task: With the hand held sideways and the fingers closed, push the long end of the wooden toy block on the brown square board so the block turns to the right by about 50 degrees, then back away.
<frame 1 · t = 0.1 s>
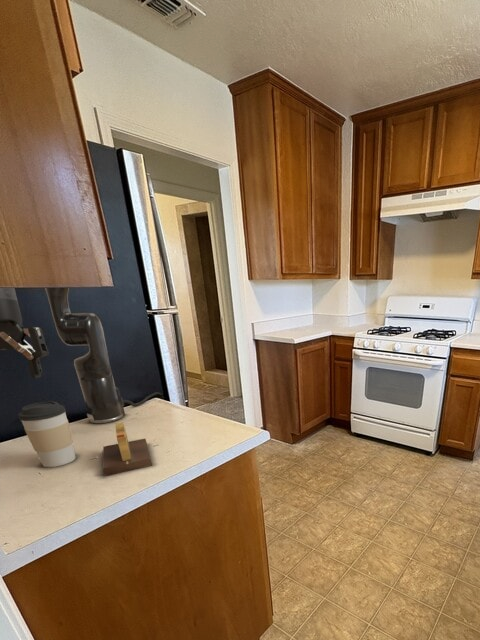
hand: (14, 378, 75), 22 cm above the counter, tool pointing down, fingers open, 8 cm apart
coffee cup: (59, 461, 89), on the counter
brown square board: (127, 459, 89), on the counter
wooden toy block: (123, 440, 87), point 5 cm above the counter, hinge at 0.0°
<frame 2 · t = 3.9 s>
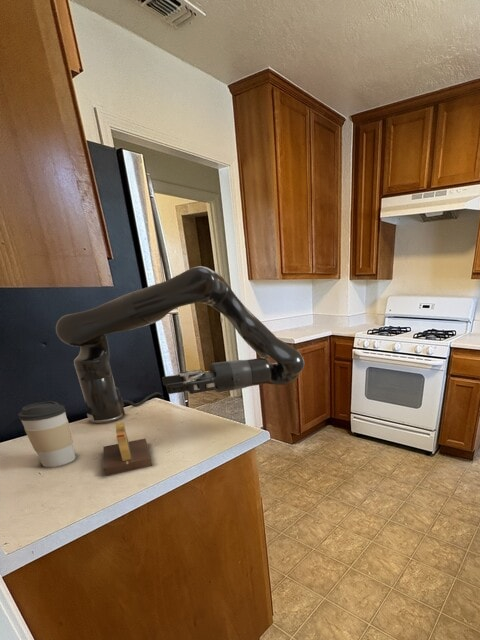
hand: (164, 385, 85), 18 cm above the counter, tool horizontal, fingers open, 8 cm apart
nothing on the counter moved.
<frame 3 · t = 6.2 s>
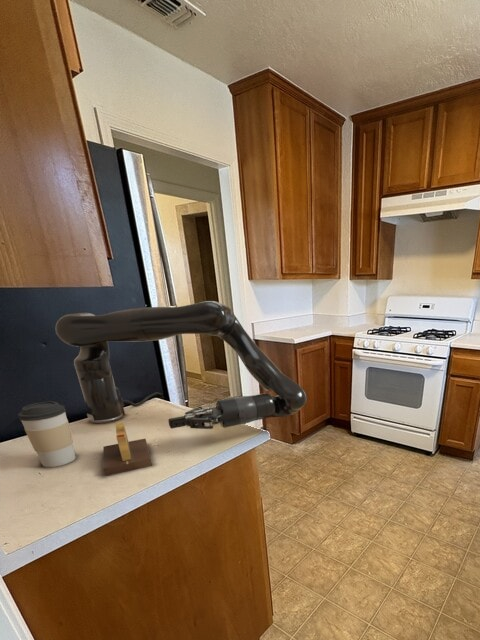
hand: (169, 423, 88), 8 cm above the counter, tool horizontal, fingers closed
nothing on the counter moved.
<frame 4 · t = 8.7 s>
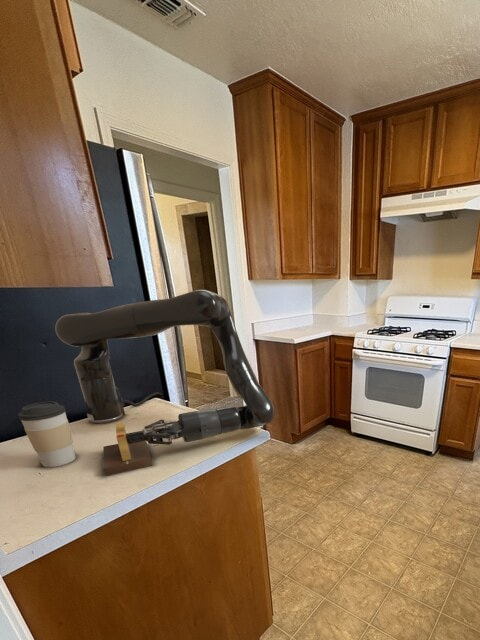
hand: (126, 439, 85), 6 cm above the counter, tool horizontal, fingers closed
wooden toy block: (123, 440, 87), point 5 cm above the counter, hinge at 0.0°, touching gripper
everything else where it was.
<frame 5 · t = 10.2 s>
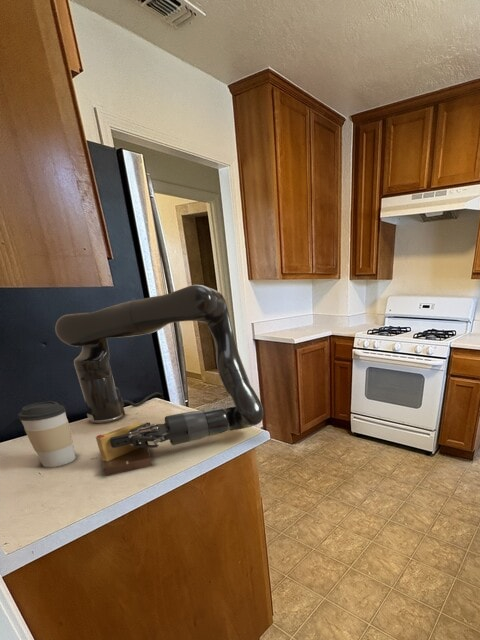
hand: (110, 442, 83), 6 cm above the counter, tool horizontal, fingers closed
wooden toy block: (123, 440, 87), point 5 cm above the counter, hinge at -58.2°, touching gripper, hand
everything else where it was.
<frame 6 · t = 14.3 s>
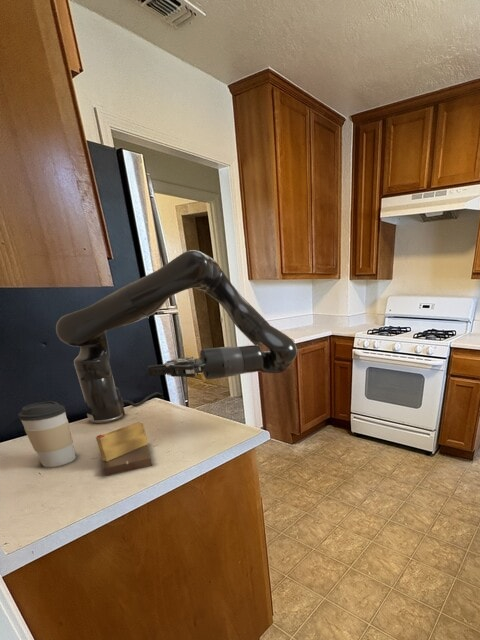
hand: (148, 371, 82), 22 cm above the counter, tool horizontal, fingers closed
wooden toy block: (123, 440, 87), point 5 cm above the counter, hinge at -58.3°
everything else where it was.
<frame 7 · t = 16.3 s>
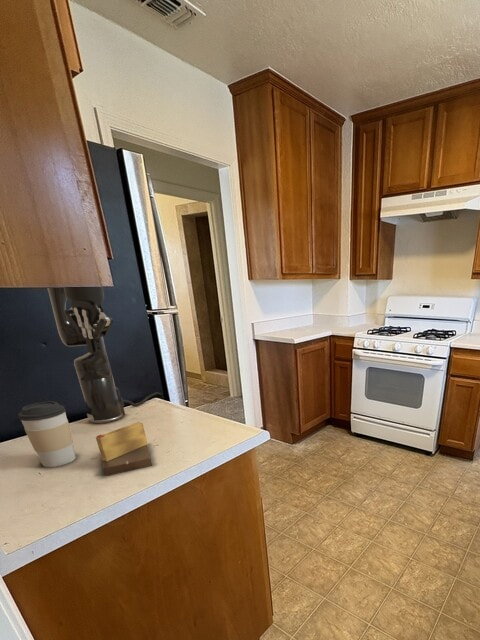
hand: (95, 353, 87), 25 cm above the counter, tool pointing down, fingers closed
nothing on the counter moved.
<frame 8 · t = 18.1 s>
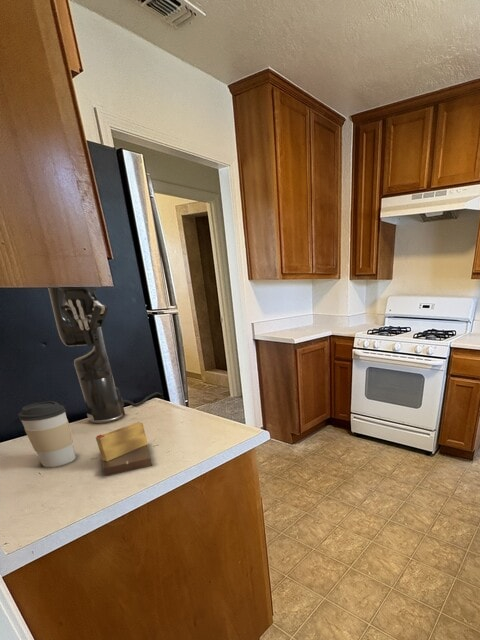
hand: (93, 345, 86), 27 cm above the counter, tool pointing down, fingers closed
nothing on the counter moved.
at the end: wooden toy block at -58° (first picture: +0°); coffee cup moved 0.2 cm from its start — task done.
